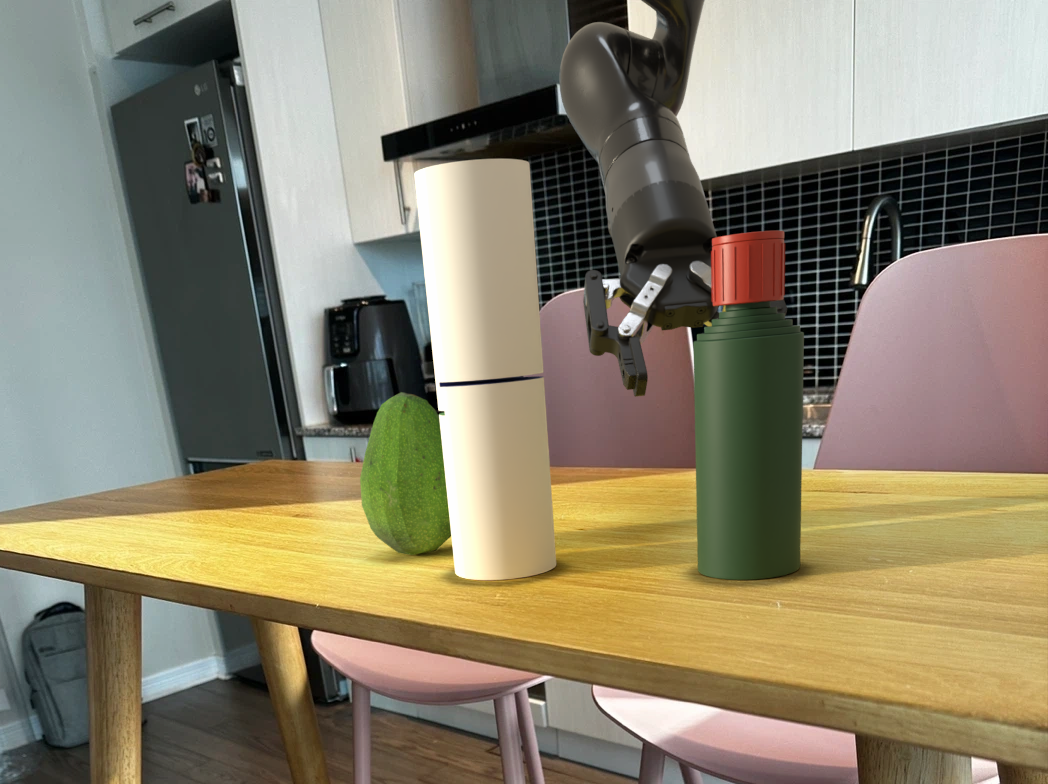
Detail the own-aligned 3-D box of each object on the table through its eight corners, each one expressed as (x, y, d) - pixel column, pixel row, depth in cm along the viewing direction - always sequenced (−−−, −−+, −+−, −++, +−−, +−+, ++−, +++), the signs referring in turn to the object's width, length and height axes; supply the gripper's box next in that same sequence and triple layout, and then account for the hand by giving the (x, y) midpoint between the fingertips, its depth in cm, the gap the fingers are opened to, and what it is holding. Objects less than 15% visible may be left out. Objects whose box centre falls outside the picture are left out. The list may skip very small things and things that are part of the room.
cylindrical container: (498, 584, 67) (460, 156, 59) (435, 572, 73) (391, 177, 64) (577, 563, 72) (553, 160, 63) (512, 552, 77) (481, 179, 68)
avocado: (431, 566, 75) (411, 394, 71) (349, 562, 79) (326, 399, 75) (491, 543, 81) (476, 384, 77) (412, 541, 85) (394, 389, 81)
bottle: (760, 553, 70) (760, 247, 63) (821, 568, 64) (829, 235, 58) (678, 567, 68) (670, 253, 61) (734, 585, 62) (732, 241, 55)
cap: (756, 302, 63) (756, 237, 62) (798, 298, 59) (799, 228, 58) (698, 307, 61) (697, 241, 60) (738, 303, 58) (738, 232, 57)
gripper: (570, 185, 75) (606, 353, 69) (760, 169, 76) (813, 333, 70) (565, 268, 82) (597, 428, 76) (739, 252, 83) (786, 409, 76)
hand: (701, 382), depth 73 cm, fingers open, 8 cm apart
